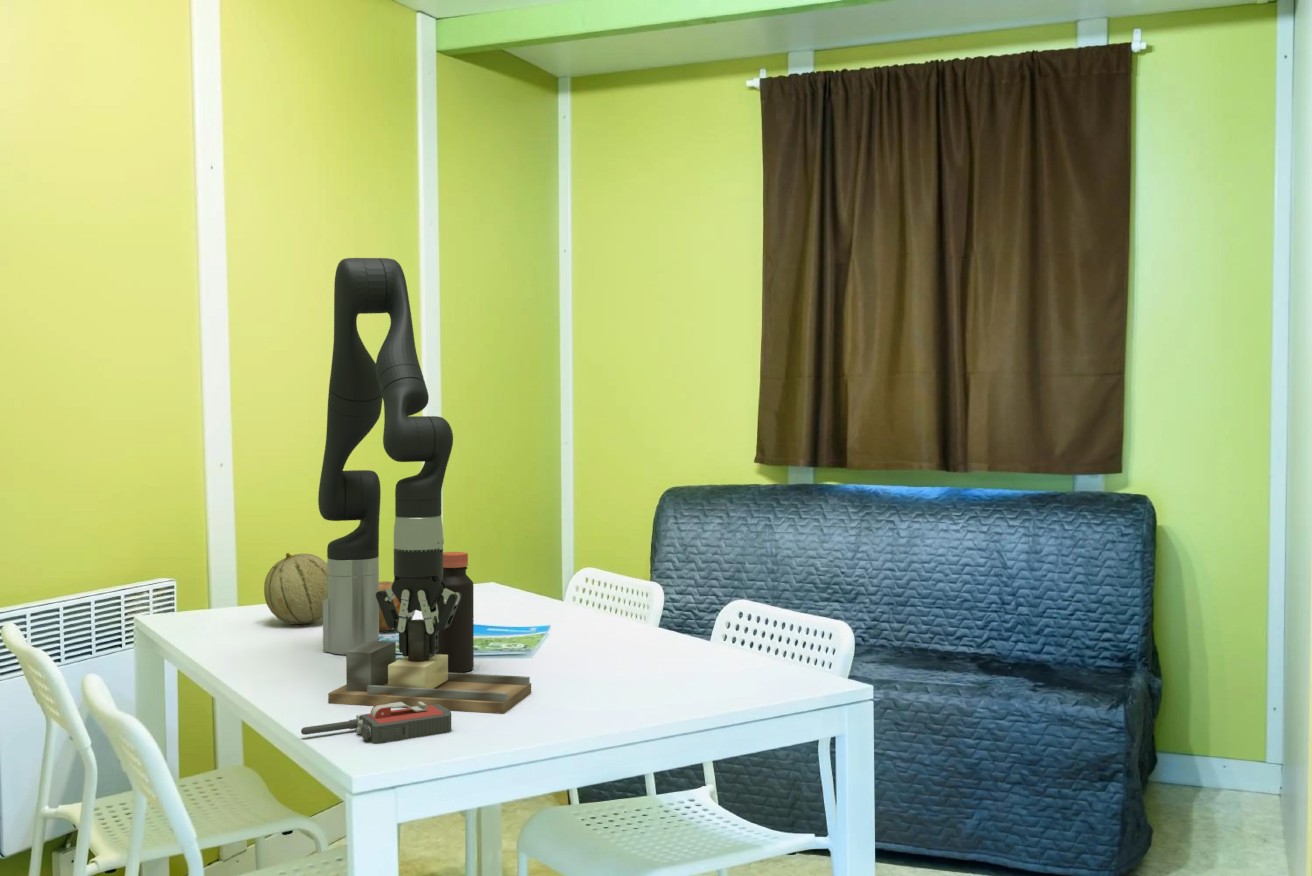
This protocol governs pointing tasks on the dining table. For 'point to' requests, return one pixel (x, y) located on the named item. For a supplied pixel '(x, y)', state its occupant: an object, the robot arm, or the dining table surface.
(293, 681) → the dining table surface
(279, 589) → the cantaloupe
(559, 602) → the dining table surface
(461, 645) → the bottle
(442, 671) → the block
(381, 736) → the walkie-talkie
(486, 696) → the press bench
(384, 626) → the onion
